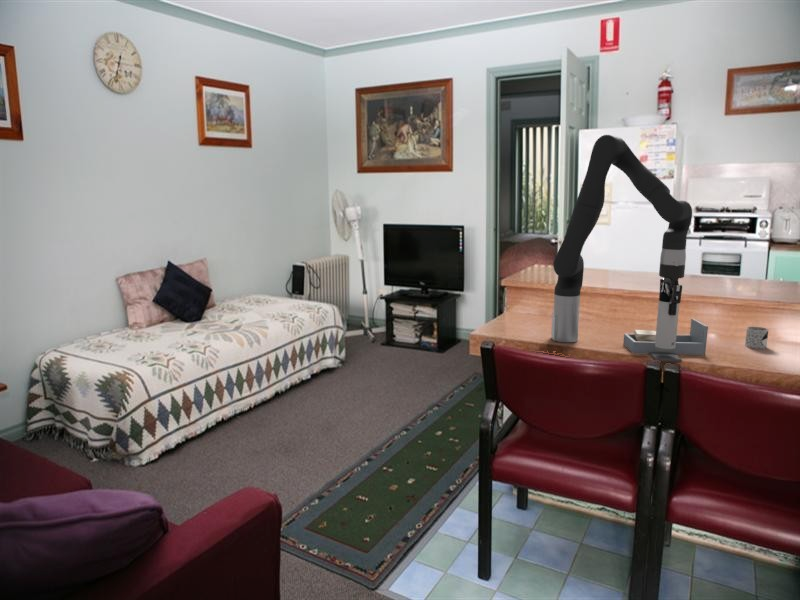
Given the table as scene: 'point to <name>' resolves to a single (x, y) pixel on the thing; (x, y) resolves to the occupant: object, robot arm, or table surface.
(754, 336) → the notched grey stone block
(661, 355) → the mat
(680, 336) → the tray
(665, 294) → the travel mug
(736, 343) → the table surface
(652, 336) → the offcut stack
